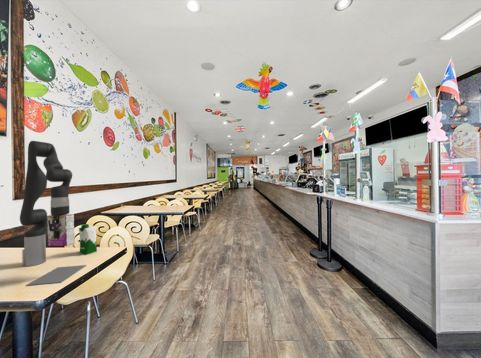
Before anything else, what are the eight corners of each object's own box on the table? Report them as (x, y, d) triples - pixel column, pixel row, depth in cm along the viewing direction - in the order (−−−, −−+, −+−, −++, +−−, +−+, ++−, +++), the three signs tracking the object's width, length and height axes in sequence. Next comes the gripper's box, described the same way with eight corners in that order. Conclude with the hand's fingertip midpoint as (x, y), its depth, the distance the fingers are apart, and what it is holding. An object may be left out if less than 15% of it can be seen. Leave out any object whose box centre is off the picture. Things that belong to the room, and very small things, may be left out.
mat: (25, 285, 94) (25, 285, 94) (57, 268, 114) (57, 267, 114) (61, 282, 96) (61, 281, 96) (86, 265, 116) (86, 264, 116)
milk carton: (77, 254, 136) (76, 225, 136) (90, 249, 145) (90, 222, 145) (86, 255, 133) (85, 225, 133) (99, 250, 142) (99, 223, 142)
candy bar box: (46, 246, 104) (46, 215, 105) (56, 243, 109) (55, 214, 110) (66, 246, 103) (65, 215, 104) (75, 243, 108) (74, 213, 109)
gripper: (61, 204, 113) (62, 234, 113) (41, 207, 99) (42, 241, 99) (76, 203, 114) (77, 233, 114) (58, 206, 100) (59, 239, 100)
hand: (60, 236), depth 106 cm, fingers closed on candy bar box, 5 cm apart
